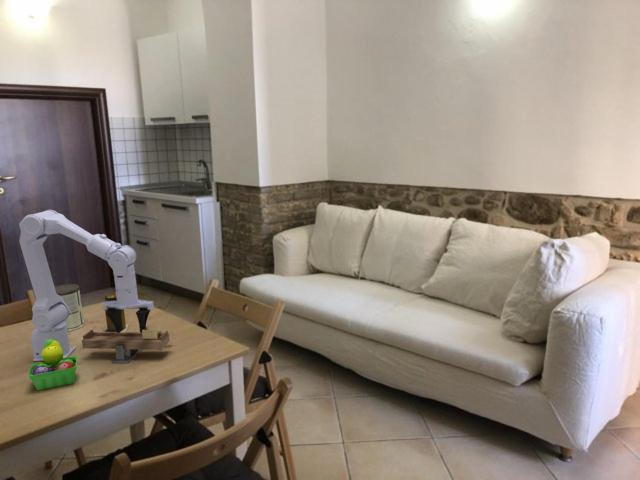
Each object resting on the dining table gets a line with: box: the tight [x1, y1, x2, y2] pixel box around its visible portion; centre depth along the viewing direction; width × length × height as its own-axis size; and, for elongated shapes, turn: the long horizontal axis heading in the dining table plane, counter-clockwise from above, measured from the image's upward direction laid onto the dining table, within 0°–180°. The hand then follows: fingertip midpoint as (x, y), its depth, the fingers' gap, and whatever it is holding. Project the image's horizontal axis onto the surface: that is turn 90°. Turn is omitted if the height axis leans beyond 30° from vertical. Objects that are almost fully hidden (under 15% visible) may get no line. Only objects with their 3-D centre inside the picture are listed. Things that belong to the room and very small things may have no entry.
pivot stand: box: [111, 344, 142, 364], centre depth 150 cm, size 5×10×5 cm, turn 175°
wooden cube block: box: [142, 324, 164, 340], centre depth 148 cm, size 4×4×4 cm
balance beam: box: [81, 329, 171, 351], centre depth 150 cm, size 24×7×4 cm, turn 85°
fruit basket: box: [27, 339, 78, 391], centre depth 135 cm, size 11×9×11 cm
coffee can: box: [54, 283, 85, 332], centre depth 174 cm, size 10×10×14 cm
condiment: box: [103, 293, 130, 332], centre depth 170 cm, size 7×8×12 cm
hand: (131, 331), depth 149 cm, fingers open, 7 cm apart
